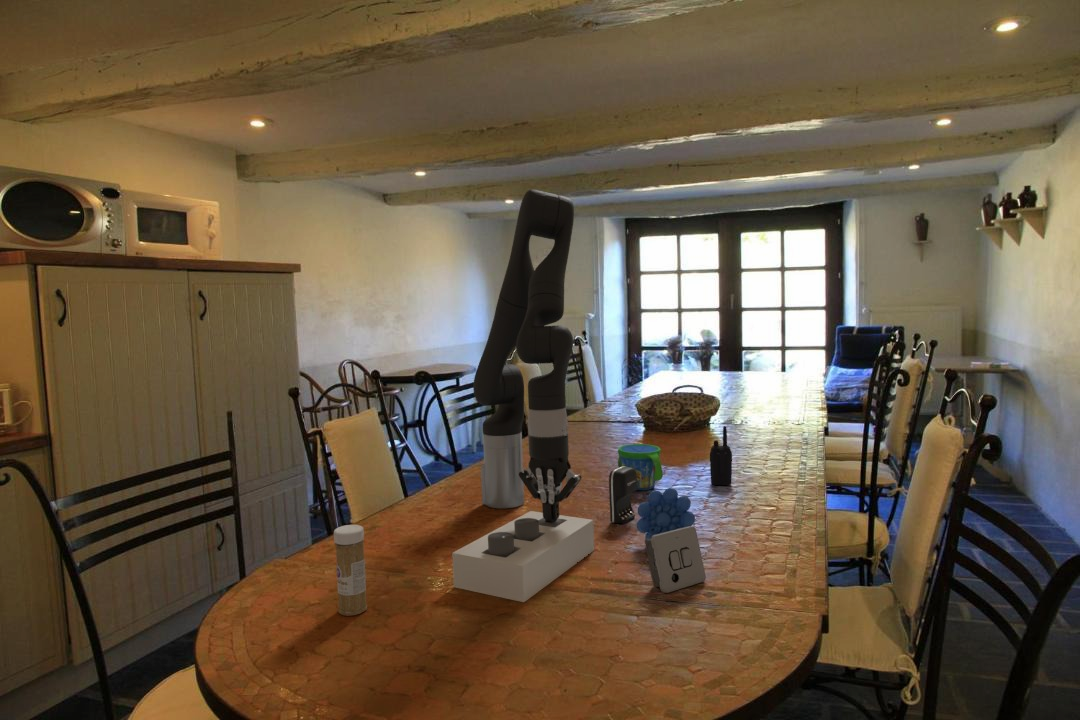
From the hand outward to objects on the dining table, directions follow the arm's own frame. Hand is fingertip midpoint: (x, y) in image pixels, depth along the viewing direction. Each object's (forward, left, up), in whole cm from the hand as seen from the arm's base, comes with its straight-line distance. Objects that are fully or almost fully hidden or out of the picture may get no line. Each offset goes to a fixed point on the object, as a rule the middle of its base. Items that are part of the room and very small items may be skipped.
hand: (551, 521), depth 135 cm
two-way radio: (+16, +60, -6) cm, 62 cm away
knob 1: (0, -17, -3) cm, 17 cm away
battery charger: (+5, +24, -6) cm, 25 cm away
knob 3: (0, 0, -5) cm, 5 cm away
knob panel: (0, -9, -6) cm, 11 cm away
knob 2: (0, -9, -3) cm, 9 cm away
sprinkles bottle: (-16, -36, -6) cm, 40 cm away
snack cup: (-2, +50, -6) cm, 50 cm away
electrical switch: (+26, -4, -6) cm, 27 cm away
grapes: (+19, +12, -6) cm, 23 cm away
